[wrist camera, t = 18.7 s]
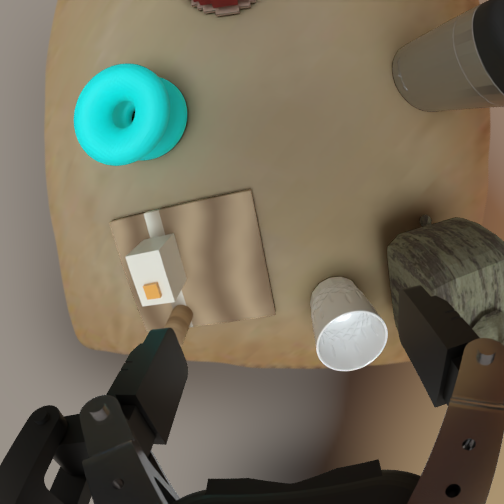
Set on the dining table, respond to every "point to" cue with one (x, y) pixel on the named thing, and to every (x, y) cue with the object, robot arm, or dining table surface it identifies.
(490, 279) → the tabletop clock
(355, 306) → the white cup
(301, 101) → the dining table surface
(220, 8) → the cake
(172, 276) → the white block
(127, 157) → the donuts
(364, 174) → the dining table surface
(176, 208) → the board
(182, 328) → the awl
